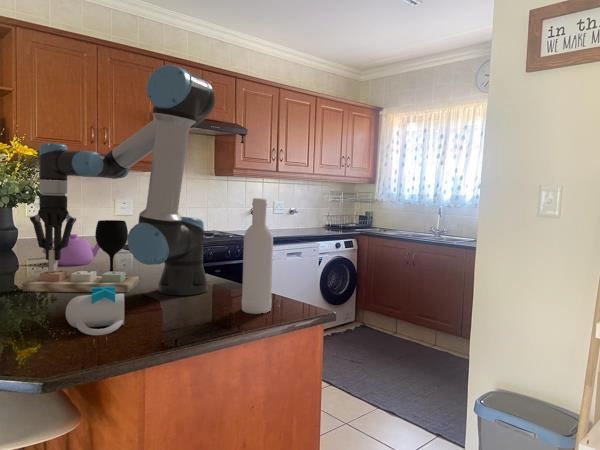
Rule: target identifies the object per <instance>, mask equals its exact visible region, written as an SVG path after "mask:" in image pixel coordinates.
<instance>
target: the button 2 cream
mask: <svg viewBox="0 0 600 450" xmlns="http://www.w3.org/2000/svg"><path fill="white" fill-rule="evenodd" d="M70 276H71V282H93V281H94V280H96V276H97V271H95V270H94V271H91V270H89V271H88V270H78V271H75V272H73V273H70Z"/></svg>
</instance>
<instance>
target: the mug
mask: <svg viewBox="0 0 600 450" xmlns="http://www.w3.org/2000/svg"><path fill="white" fill-rule="evenodd" d="M124 293H125V292H121V293H116V292H115V286H107V287H92V292H91V294H88V295H87V294H85V295H83V294H82V295H77V296H75V297H73V298H72V299H70V301H69V302H68V304H67V305H66V308H65V319H66V321H67V322H68V324H69V325H70V326H71V327H73V328H75V329H78V331H80V332H81V333H83V334H85V335H88V336H104V335H105V336H106V335H108V334H112V333H113V332H115V331H117V330H118V329H119V328H120V327H121V326H123V325H124V324H125V294H124ZM97 327H98V328H99V327H105V328H99V329H98V328H97Z"/></svg>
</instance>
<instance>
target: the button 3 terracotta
mask: <svg viewBox="0 0 600 450" xmlns="http://www.w3.org/2000/svg"><path fill="white" fill-rule="evenodd" d="M67 276H68V271H67V270H56V271H49V270H47V271H43V272H41V273H39V277H40V281H47V282H61V281H63V280H65V279H67Z"/></svg>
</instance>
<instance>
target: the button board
mask: <svg viewBox="0 0 600 450" xmlns="http://www.w3.org/2000/svg"><path fill="white" fill-rule="evenodd" d="M139 279H140V277H139V276H134V275H133V276H128V275H126V280H124V281H123V282H102V276H100V275H96V280H94V281H93V282H71V275H67V279H65V280H63V281H61V282H47V281H40V276H38V277H35V278H33V279H30V280H28V281H25V282H22V292H45V291H47V292H54V293H55V292H56V293H58V292H60V293H61V292H62V293H63V292H64V293H67V292H68V293H74V292H75V293H92V287H107V286H115V293H129V292H130V291H132V289H134V288H135V287H136V286H138V285H139V283H140V282H139Z"/></svg>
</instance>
